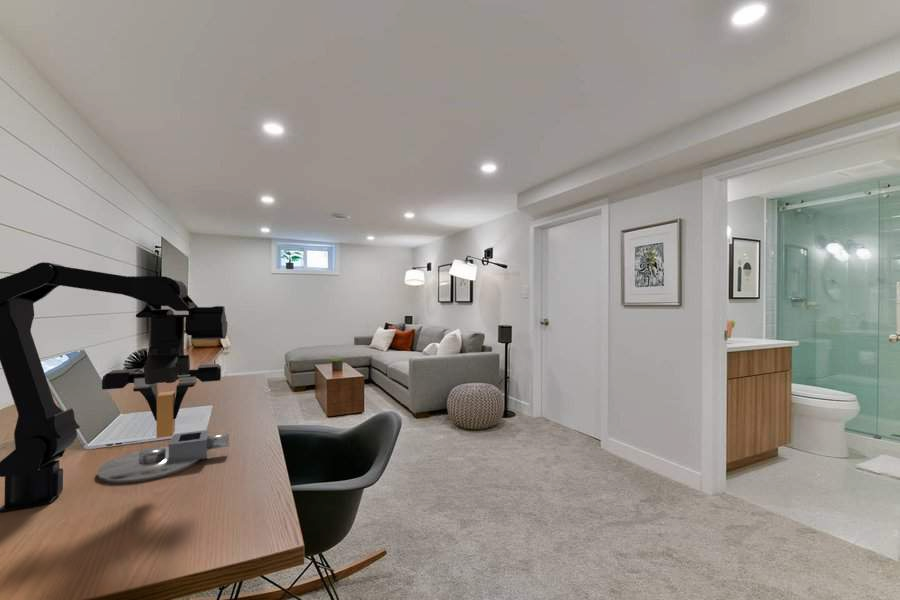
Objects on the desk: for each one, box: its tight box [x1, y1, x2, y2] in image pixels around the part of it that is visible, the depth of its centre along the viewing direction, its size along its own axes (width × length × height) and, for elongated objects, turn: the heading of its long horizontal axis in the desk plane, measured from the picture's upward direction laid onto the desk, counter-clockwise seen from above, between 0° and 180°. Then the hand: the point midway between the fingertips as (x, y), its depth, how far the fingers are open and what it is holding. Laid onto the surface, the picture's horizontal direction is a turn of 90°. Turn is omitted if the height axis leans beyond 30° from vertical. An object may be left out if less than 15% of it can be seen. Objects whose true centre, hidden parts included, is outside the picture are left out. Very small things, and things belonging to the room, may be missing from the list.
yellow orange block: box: [156, 390, 176, 439], centre depth 79 cm, size 2×4×8 cm, turn 28°
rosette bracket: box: [97, 429, 230, 484], centre depth 90 cm, size 24×18×5 cm
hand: (166, 419), depth 79 cm, fingers closed on yellow orange block, 2 cm apart
